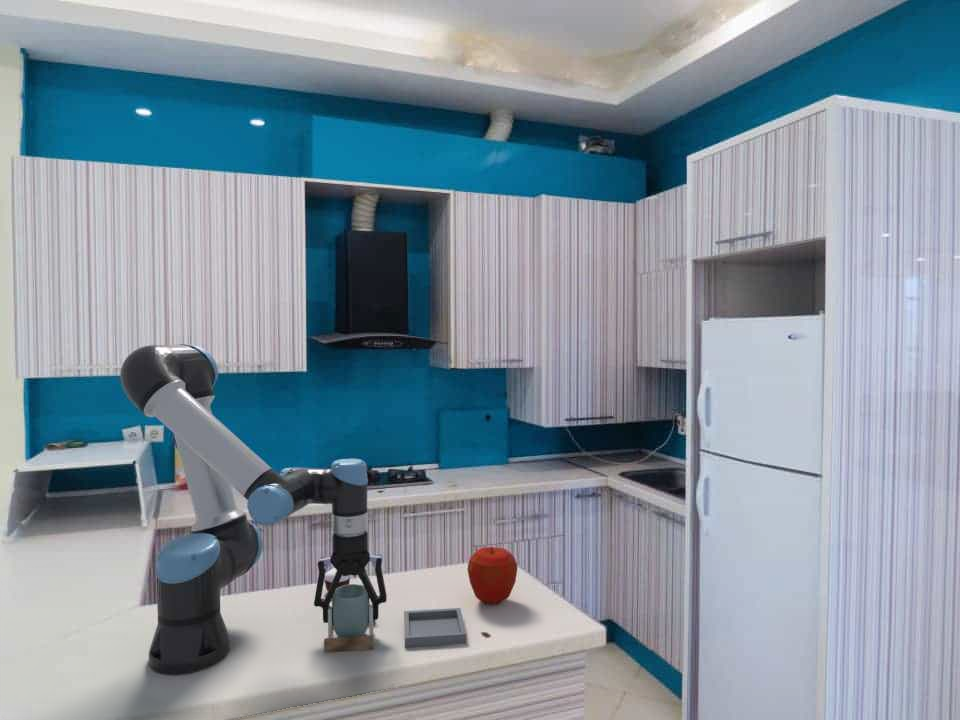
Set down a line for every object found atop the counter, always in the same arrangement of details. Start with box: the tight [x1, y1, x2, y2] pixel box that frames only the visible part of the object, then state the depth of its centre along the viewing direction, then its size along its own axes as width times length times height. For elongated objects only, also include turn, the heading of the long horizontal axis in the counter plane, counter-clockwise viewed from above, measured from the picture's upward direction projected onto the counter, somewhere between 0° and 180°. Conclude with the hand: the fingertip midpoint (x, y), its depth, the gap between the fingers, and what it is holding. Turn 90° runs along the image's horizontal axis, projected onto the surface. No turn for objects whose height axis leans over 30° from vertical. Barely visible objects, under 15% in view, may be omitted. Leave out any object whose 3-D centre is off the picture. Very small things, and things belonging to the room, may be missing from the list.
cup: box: [331, 583, 371, 638], centre depth 137 cm, size 8×8×10 cm
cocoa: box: [324, 567, 351, 592], centre depth 161 cm, size 10×6×12 cm, turn 156°
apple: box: [467, 545, 518, 606], centre depth 154 cm, size 12×12×14 cm
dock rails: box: [323, 620, 376, 654], centre depth 137 cm, size 10×13×2 cm
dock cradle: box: [403, 607, 467, 648], centre depth 140 cm, size 13×13×2 cm
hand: (351, 635), depth 137 cm, fingers closed on cup, 8 cm apart
